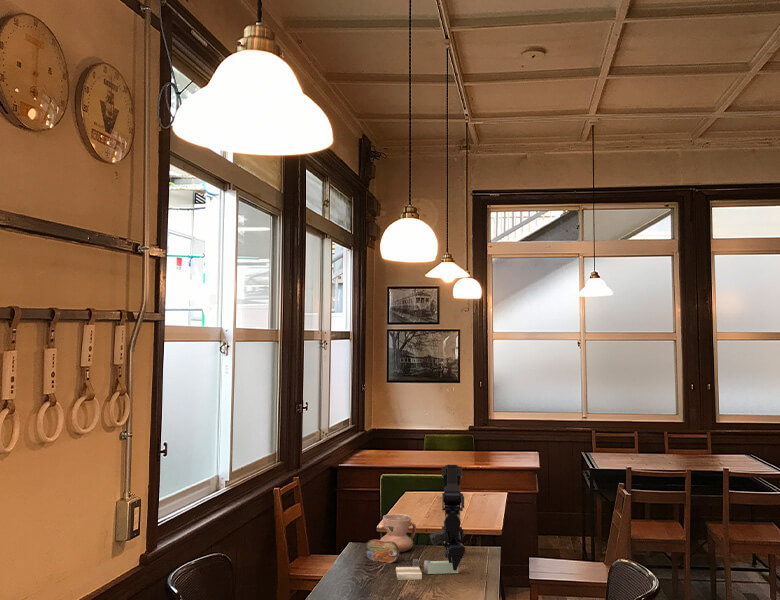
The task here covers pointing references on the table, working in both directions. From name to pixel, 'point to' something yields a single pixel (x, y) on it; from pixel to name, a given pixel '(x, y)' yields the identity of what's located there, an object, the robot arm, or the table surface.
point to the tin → (382, 551)
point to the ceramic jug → (398, 530)
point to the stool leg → (438, 567)
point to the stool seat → (408, 573)
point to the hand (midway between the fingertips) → (452, 566)
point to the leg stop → (415, 563)
